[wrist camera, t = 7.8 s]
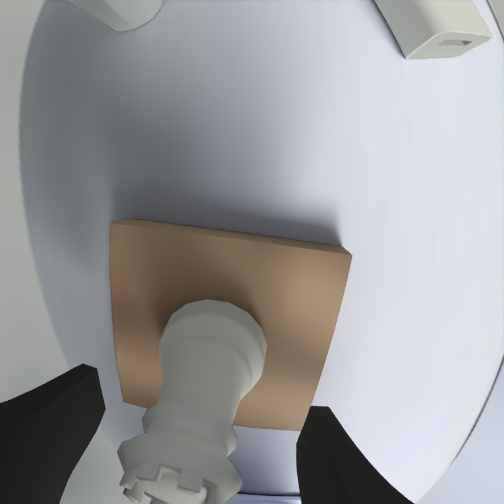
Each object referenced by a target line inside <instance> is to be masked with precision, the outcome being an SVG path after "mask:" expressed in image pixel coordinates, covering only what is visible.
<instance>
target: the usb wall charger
mask: <svg viewBox="0 0 504 504" xmlns="http://www.w3.org/2000/svg"><path fill="white" fill-rule="evenodd" d="M374 1H375V3H376V4H377V6H378V8H379V9H380V11H381V13H382V14H383V16H384V18H385V19H386V21H387V23H388V25H389V26H390V28H391V30H392V32H393V34H394V36H395V38H396V40H397V42H398V44H399V45H400V47H401V50H402V52H403V54H404V56H405V58H406V59H407V60H418V59H437V58H454V57H458V56H460V55H462V54H464V53H466V52H468V51H470V50H472V49H474V48H476V47H478V46H480V45H482V44H483V43H485V42H487V41H489V40H491V39H492V35H491V33H490V31H489V29H488V27H487V25H486V24H485V22H484V20H483V18H482V17H481V15H480V13H479V11H478V10H477V8H476V6H475V5H474V3H473V2H472V0H374Z"/></svg>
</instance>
